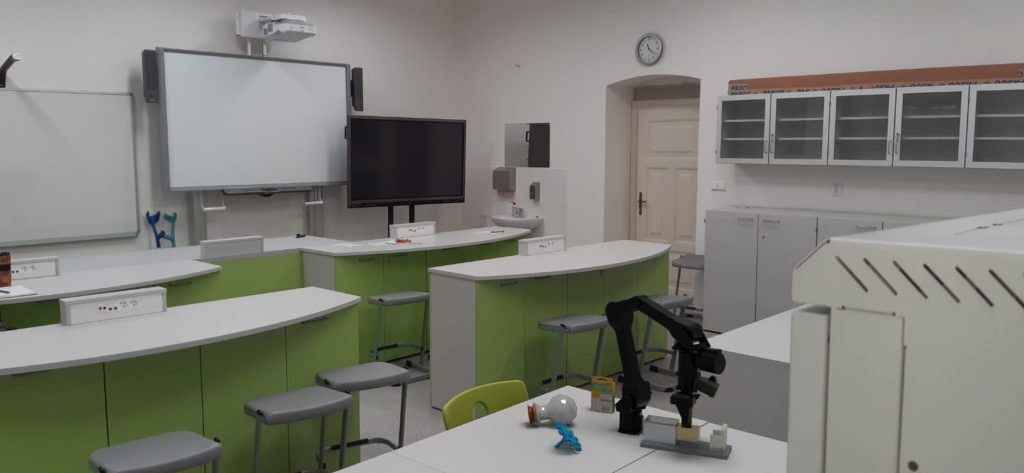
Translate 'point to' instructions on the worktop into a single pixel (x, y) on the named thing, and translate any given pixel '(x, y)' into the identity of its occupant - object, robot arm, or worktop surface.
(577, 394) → the worktop surface
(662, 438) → the sleeve
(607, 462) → the worktop surface
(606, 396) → the crayon box
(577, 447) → the gear
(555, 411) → the potion bottle
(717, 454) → the board
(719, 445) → the socket
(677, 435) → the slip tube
